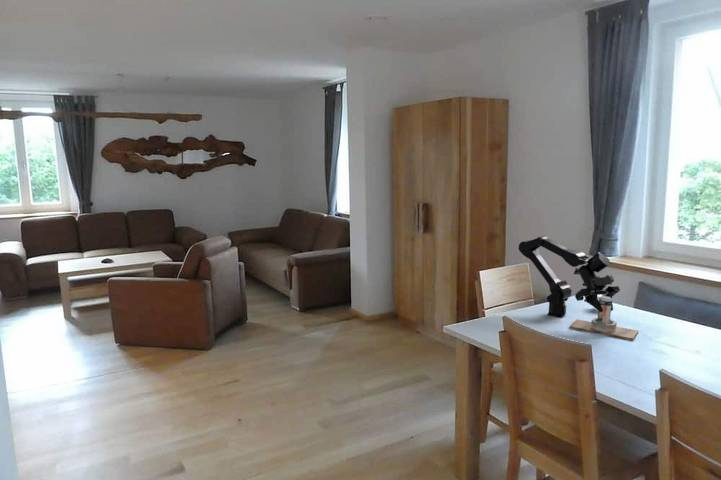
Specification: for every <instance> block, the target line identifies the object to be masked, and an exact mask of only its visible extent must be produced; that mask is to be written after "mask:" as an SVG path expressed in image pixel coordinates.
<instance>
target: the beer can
mask: <svg viewBox="0 0 721 480" xmlns="http://www.w3.org/2000/svg"><path fill="white" fill-rule="evenodd" d="M599 303H600V305H601V307H602V309H603V312H600V311H599V310H598V311H597V318H598V319H597V322H598V323H601V324H610V319H611V313H612V311H611V304H613V298H612V299H611V297H608V296H601V297H600V298H599Z"/></svg>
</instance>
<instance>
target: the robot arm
mask: <svg viewBox="0 0 721 480" xmlns="http://www.w3.org/2000/svg"><path fill="white" fill-rule="evenodd" d="M540 247H542V248H543V249H545V250H548V251H550V252H551V253H554V254H556V255H557V256H558V257H561V258H562V259H563V260H564V262H565V263H567V264H568V265H569V266H571V267H574V268H575V267H576V268H575V269H574V272H573V275H576V276H577V275H579V276H580V278H581V279H582V282H583V283H581V284H582V286H583V287H585V288H581V289H579V291H577V292H576V293H575V295H574V297H575V300H576V301H584V303H585V302H586V303H588V304H589V305H590V306H592V307H593V308H594V307H595V308H596V309H597V310H599V311H600V312H603V309H602V307H601V305H600V303H599V301H598V299H597V295H602V296H608V297H611V299H612V300H613V297H614V296H616V294H618V293H619V292H620V291H621V289H620V287H619V286H618V285H613V283H614V282H615V280H614V279H615V278H614V277H613V275H612V274H607V275H605V276H602V277H601V276H597V274H596V273H601V272H603V270H605V269H607V267H609V266H610V265H611V260H610V258H608V257H607V256H606V255H604V254H602V253H601V251H599V252H596V253H595V254H594V255H593V256H592V257H591V256H589V255H586V254H585V253H584V252H582V251H579V250H576V249H571V248H567V247H566V246H564V245H562V244H561V243H558V242H557V241H554V240H552V239H550V238H549V237H548V236H544V235H543V236H538V237H537V238H534V239H530V240H525V241H521V242H519V244H518V248H517V249H518V251H519V252H520V253H521V255H523V256H524V257H525V258H527V259H529V260H530V262H532V264H533V265H534V266H535V268H536V269H537V270H538V272H539V273H540V274H541V276H542V277H543V279H544V280H545V281H546V283H547V284H548V286H549V292H550V294H549V295H548V296H547V297H546V301H547V303H548V312H547V315H548V316H553V317H556V318H557V317H558V318H563V317H564V316H565V315H566V314H567V305H566V302H567V301H568V300H569V298H570V297H571V296H572V289H571V286H570V285H569V284H568V282H567V281H566V279H565V280H564V279H563V280H561V279H559V278H558V276H557V275H556V274H555V273H554V271H553V270H552V269H551V267H550V266H549V265H548V263H547V262H546V261H545V259H544V258H543V257H542V255H541V254H540V253H541V252H540ZM577 267H579V268H577ZM607 286H608V287H607ZM584 298H585V299H584ZM597 310H596V311H597ZM612 311H614V306H613V303H612V304H611V312H612Z"/></svg>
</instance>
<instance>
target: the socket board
mask: <svg viewBox="0 0 721 480" xmlns="http://www.w3.org/2000/svg"><path fill="white" fill-rule="evenodd" d="M597 319H598V317H595V318H592V320H591V321H587V320H583V319H576V320H574V321H573V322H572V323H571V324H570V325H569V329H571V330H576V331H580V332H585V333H591V334H594V335H595V334H596V335H602V336H605V337H606V336H607V337H611V338H616V339H621V340H627V341H632V342H633V341H634V340H635V339H636V337H637V336H638V334H639V330H636V329H632V328H627V327H626V328H625V327H621V326H617V324H618V323H617V321H615V320H613V319H611V318H610V324H601V323H598V322H597Z"/></svg>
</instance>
